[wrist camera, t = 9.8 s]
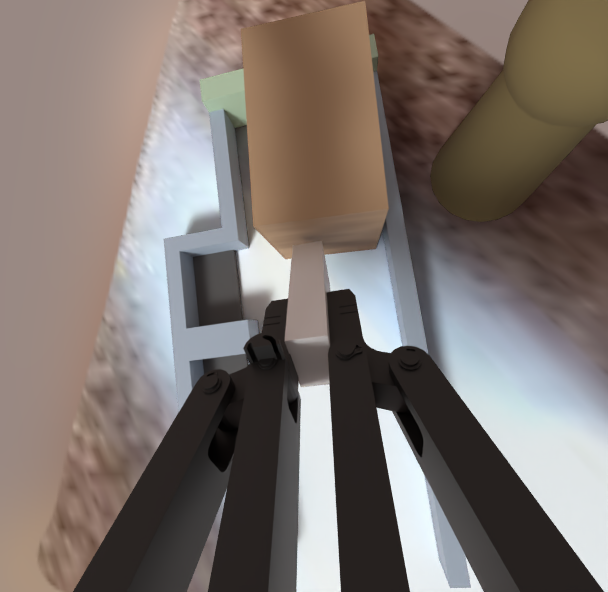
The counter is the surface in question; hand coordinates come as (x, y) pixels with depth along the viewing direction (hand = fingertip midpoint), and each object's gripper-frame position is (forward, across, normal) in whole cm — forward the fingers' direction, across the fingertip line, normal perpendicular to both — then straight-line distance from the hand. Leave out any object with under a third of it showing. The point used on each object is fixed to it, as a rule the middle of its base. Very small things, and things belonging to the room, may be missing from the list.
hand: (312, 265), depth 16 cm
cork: (+6, +11, 0) cm, 13 cm away
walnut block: (+8, +1, +2) cm, 8 cm away
